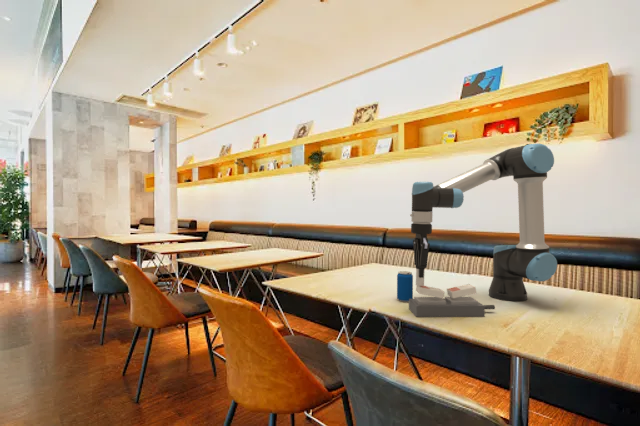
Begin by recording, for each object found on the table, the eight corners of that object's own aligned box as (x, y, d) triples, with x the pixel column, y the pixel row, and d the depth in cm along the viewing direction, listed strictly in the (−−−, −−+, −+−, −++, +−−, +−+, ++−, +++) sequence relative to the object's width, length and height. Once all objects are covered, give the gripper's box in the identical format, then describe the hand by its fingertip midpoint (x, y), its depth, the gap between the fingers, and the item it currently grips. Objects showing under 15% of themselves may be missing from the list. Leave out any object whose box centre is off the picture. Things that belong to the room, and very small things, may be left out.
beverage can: (413, 303, 147) (413, 274, 146) (397, 302, 148) (397, 273, 148) (412, 298, 153) (412, 271, 153) (396, 298, 154) (397, 270, 154)
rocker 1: (438, 294, 136) (439, 288, 136) (443, 298, 131) (444, 291, 131) (415, 290, 136) (416, 284, 136) (419, 293, 131) (420, 287, 131)
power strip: (487, 308, 139) (487, 295, 139) (500, 316, 129) (500, 302, 129) (408, 308, 138) (409, 295, 138) (416, 317, 128) (416, 302, 128)
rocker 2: (470, 290, 136) (469, 283, 136) (476, 293, 131) (475, 286, 131) (447, 294, 136) (446, 288, 136) (453, 298, 131) (451, 291, 131)
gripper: (407, 222, 139) (405, 281, 140) (416, 223, 126) (414, 289, 127) (425, 222, 139) (424, 281, 140) (437, 224, 126) (435, 289, 127)
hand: (419, 285), depth 133 cm, fingers closed
